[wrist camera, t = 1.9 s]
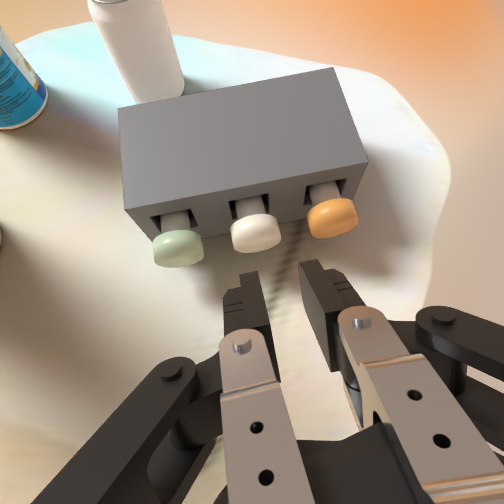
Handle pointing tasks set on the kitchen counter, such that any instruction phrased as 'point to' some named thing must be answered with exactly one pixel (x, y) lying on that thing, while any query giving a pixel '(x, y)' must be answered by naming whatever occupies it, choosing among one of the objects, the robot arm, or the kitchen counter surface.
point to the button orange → (330, 211)
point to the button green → (177, 241)
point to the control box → (238, 151)
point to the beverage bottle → (18, 87)
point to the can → (140, 47)
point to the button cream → (254, 226)
